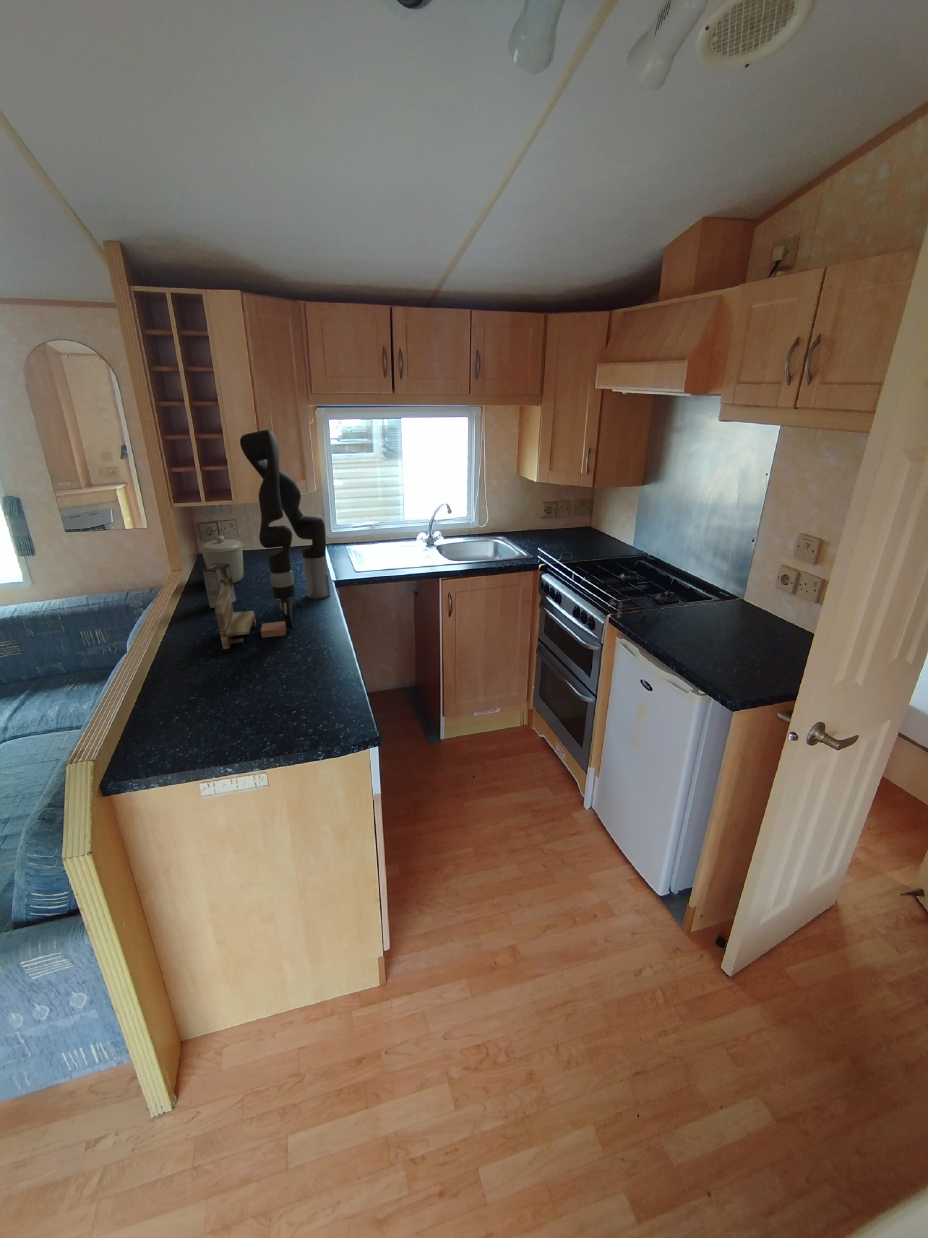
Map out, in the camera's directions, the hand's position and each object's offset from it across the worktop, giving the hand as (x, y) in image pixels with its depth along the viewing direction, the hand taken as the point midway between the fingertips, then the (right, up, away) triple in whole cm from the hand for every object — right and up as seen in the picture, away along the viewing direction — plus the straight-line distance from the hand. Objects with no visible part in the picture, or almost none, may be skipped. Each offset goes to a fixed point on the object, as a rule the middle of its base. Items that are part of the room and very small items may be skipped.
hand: (289, 628), depth 200 cm
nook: (-16, -3, -3) cm, 17 cm away
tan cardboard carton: (-5, -2, -1) cm, 6 cm away
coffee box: (-35, +9, +26) cm, 45 cm away
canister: (-44, +20, +52) cm, 71 cm away
